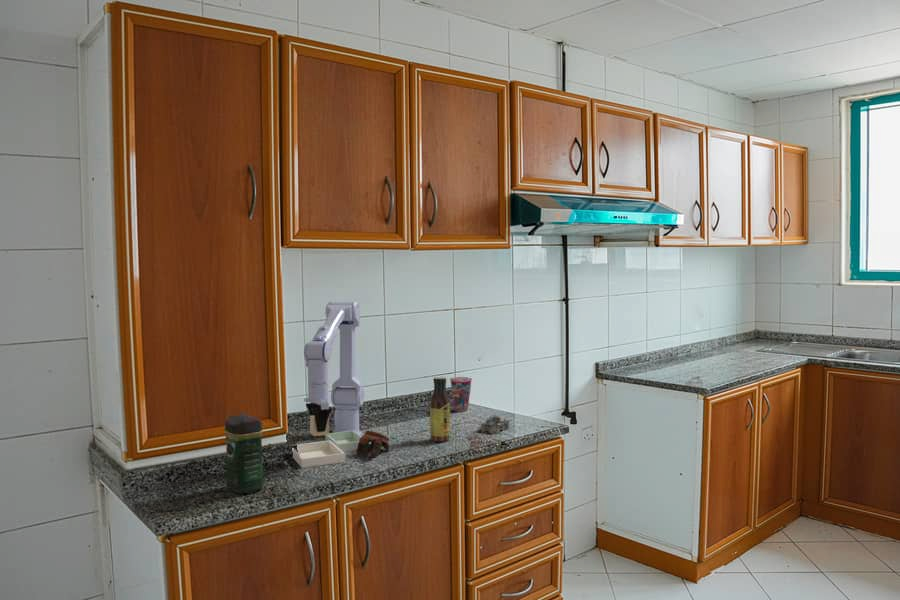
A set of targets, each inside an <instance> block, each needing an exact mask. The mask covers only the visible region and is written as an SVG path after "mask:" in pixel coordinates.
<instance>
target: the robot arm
mask: <svg viewBox="0 0 900 600" xmlns="http://www.w3.org/2000/svg"><path fill="white" fill-rule="evenodd" d="M325 318H326V320H325V321H324V324H323V325H321V326H320V327H318V329H317V330H316V332H315V334H314V336H313V338H312V340H310V341H308V342H307V343H306V344H305V345H304V349H303V356H304V360H305V366H306V368H307V393H308V394H307V395H308V397H307V398H303V402H305V407H306V409H307V411H308V413H309V417H310V416H311V415H314V417H315V421H316V428H317V431H318V432H324V431H325V429H326V425H327V420H328V417H329V416H330V415H331V412H332V411H333V407H332V406H334V409H335V410H334V429H332V433H336V432H344V431H353V430H354V431H355V432H357V433H358V434H359V435H364V432H361V430H360V407H362V405H363V404H364V401H365V392H364V384H363V382H362V381H360V380H359V379H358V378H356V377H355V371H356V370H355V363H356V362H355V359H356V358H355V352H356V350H355V348H356V347H355V341H356V340H355V339H356V337H355V334H356V328H358V327H360V326H361V325H360V324H361V308H360V305H359V303H358V301H327V304H326V306H325ZM337 329H338V330H339V378H337V379H336V380H335V381H333V383H332V386H331V392H330V397H329V360H331V355H332V348H333V343H334V342H335V340H336V338H337V332H336V330H337ZM329 401H330V402H331V404H332V406H330V402H329ZM329 418H330V417H329Z"/></svg>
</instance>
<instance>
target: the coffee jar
mask: <svg viewBox="0 0 900 600" xmlns="http://www.w3.org/2000/svg"><path fill="white" fill-rule="evenodd" d="M224 424H225V426H224V433H225V443H226V444H225V445H226V448H225V449H226V462H225V463H226V464H225V465H226V470H225V471H226V473H225V474H226V475H225V477H226V478H225V479H226V483H225V485H226V488H227V489H228V490H229V491H231V492H233V493H235V494H239V495H240V494H253V493H256V492H258V491H260V490H261V489H263V487H264V470H263V450H262V449H263V447H262V443H263V442H262V438H263V424H262V420H260V419H258V418H256V417H253V416H250V415H247V414H245V413H242V414H241V413H239V414H235V415H229V417H228V418H227V419H226V420H225V423H224Z"/></svg>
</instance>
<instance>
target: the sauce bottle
mask: <svg viewBox="0 0 900 600" xmlns="http://www.w3.org/2000/svg"><path fill="white" fill-rule="evenodd" d="M446 385H447V378H446V377H444V376H435V377H433V393H432V395H431V397H430V407H429V408H430V409H429V410H430V411H429V413H430V414H429V415H430V417H429V420H430V423H429V426H430V427H429V429H430V430H429V434H430V440H431V441H432V442H436V443H442V442H448V441H449V440H450V436H451V403H450V399H449V396H448V393H447V386H446Z"/></svg>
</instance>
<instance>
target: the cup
mask: <svg viewBox="0 0 900 600" xmlns="http://www.w3.org/2000/svg"><path fill="white" fill-rule="evenodd" d="M472 380H473V379H472V378H471V377H466V376H458V377H451V378H449V381H450V387H451V388H450V389H451V395H452V402H453V403H452V404H453V408H454V409H453V410H454V412H458V413H461V412H463V413H465V412H467V411H468V410H469V406H470V405H469V404H470V397H471V396H470V395H471V386H472Z"/></svg>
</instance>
